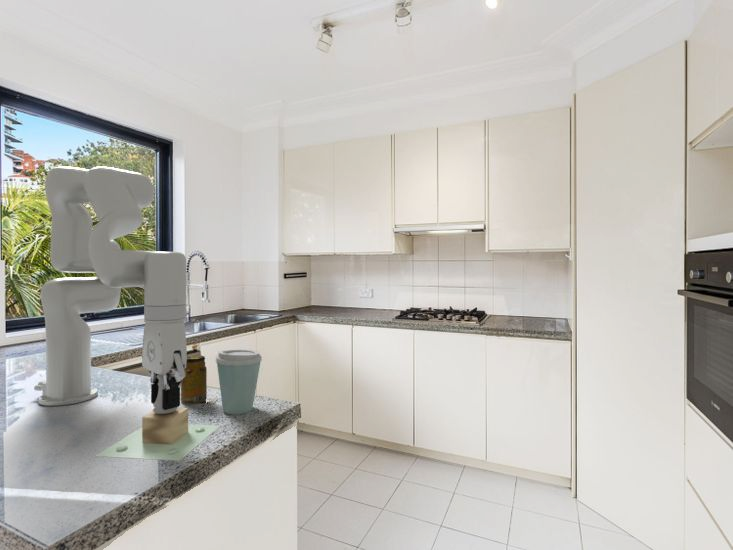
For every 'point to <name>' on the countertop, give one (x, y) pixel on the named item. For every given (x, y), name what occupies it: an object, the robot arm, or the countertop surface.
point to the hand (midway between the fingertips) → (165, 404)
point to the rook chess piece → (158, 401)
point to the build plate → (159, 445)
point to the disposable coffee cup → (238, 379)
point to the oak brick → (164, 426)
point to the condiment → (195, 382)
